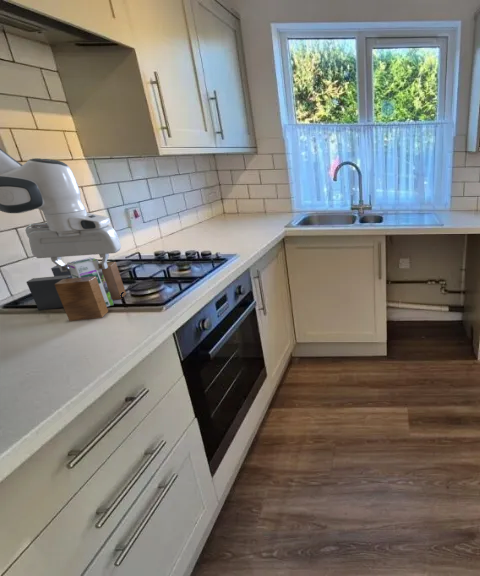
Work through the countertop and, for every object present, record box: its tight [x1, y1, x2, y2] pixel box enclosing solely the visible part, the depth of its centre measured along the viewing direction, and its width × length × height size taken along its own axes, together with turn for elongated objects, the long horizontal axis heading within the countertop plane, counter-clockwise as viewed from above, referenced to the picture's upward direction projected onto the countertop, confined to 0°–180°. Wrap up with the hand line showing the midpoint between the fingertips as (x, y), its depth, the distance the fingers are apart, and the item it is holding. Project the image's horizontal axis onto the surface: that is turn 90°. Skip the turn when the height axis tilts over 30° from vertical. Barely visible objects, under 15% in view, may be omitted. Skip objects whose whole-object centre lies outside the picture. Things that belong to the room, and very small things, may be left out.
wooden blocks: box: [54, 261, 127, 322], centre depth 106 cm, size 8×17×11 cm, turn 14°
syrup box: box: [66, 256, 114, 308], centre depth 105 cm, size 6×6×14 cm
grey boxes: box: [25, 264, 72, 311], centre depth 113 cm, size 10×15×9 cm, turn 14°
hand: (85, 269), depth 103 cm, fingers open, 8 cm apart
